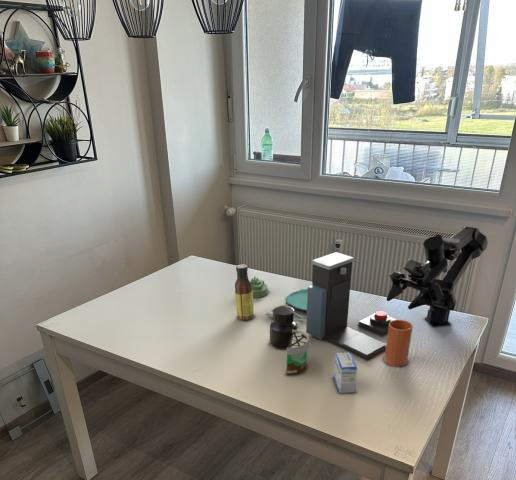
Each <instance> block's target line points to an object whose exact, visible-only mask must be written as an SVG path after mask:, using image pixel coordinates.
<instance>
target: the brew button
mask: <svg viewBox="0 0 516 480" xmlns="http://www.w3.org/2000/svg"><path fill="white" fill-rule="evenodd" d="M374 313H375V319H378V320H386V318H387V315H388V313H387V312H386V311H384V310H377V311H375V312H374Z"/></svg>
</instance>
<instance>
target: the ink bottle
mask: <svg viewBox="0 0 516 480" xmlns="http://www.w3.org/2000/svg"><path fill="white" fill-rule="evenodd" d="M272 310H273V312H272V314H273V318H272V322H270V324H269V344H270V345H271V346H272V347H273V348H276V349H280V350H287V348H288V346H289V343H290V339H291V336H292V330H298V324H297V325H296V322H295V319H294V317H295V315H294V313H295V308H293V307H291V306H289V305H288V306H287V305H280V306H276V307H274V308H273V309H272Z"/></svg>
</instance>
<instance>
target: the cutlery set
mask: <svg viewBox="0 0 516 480" xmlns="http://www.w3.org/2000/svg"><path fill="white" fill-rule="evenodd" d="M307 293H308V288H302V289H299V290H297V291H293V292H292V293H289V294H288V295H287V296H285V299H284V300H285V305H288V306H289V307H291V308H293V309H294V310H298V311H301V312H307ZM271 312H272V313H269V312H267V313H265V314H264V315H265V316H267V317H269V318H271V319H273V309H271ZM297 316H298V317H299V318H297ZM301 318H303V319H301ZM304 319H306V320H307V317H305V316H303V315H301V314H298V313H297V312H294V321H297V322H299V323H304ZM295 323H296V322H295ZM296 325H297V326H298V323H296Z"/></svg>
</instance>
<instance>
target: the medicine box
mask: <svg viewBox="0 0 516 480" xmlns="http://www.w3.org/2000/svg"><path fill="white" fill-rule="evenodd" d="M357 373H358V366H357V364H356V363H355V360H354V358H353V356H352V354H351V352H338V353H335V359H334V369H333V380H334V382H335V385H336V387H337V389H338V392H339V393H340V394H350V393H355V392H356V391H355V390H356V385H357V384H356V383H357Z"/></svg>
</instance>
